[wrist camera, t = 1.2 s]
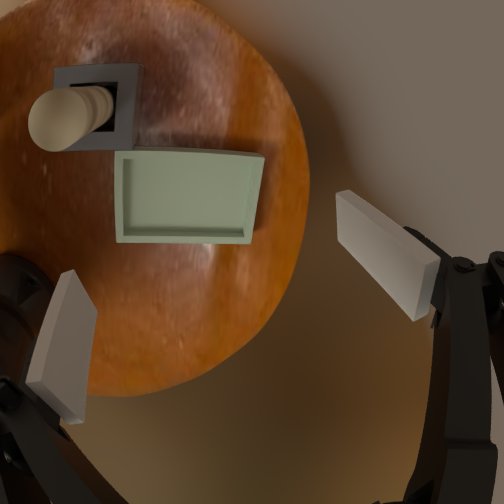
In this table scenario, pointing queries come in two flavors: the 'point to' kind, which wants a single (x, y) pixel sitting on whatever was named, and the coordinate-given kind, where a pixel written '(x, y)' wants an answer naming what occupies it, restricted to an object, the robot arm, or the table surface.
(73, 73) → the square block with hole
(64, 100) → the dowel
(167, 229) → the tray
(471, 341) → the robot arm
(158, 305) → the table surface
